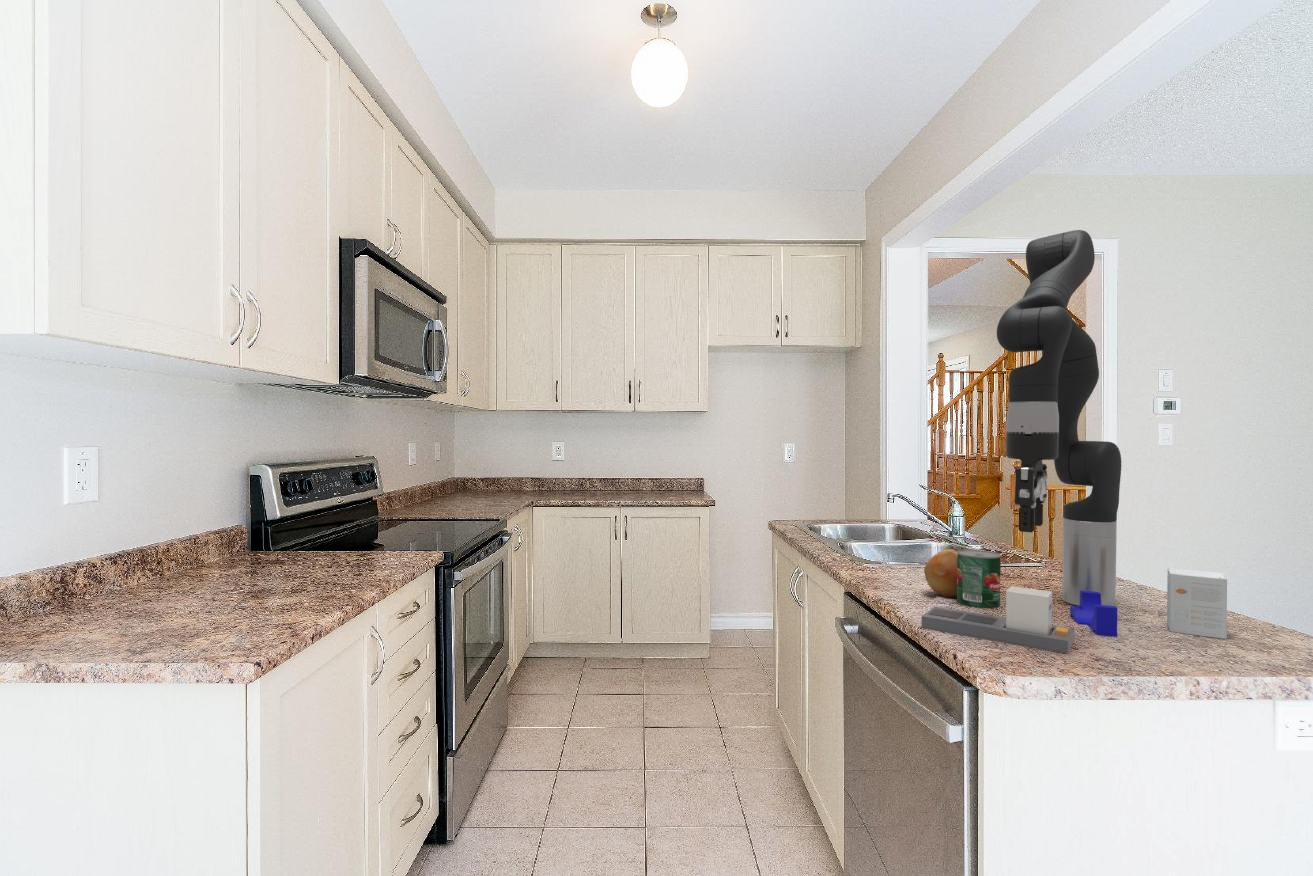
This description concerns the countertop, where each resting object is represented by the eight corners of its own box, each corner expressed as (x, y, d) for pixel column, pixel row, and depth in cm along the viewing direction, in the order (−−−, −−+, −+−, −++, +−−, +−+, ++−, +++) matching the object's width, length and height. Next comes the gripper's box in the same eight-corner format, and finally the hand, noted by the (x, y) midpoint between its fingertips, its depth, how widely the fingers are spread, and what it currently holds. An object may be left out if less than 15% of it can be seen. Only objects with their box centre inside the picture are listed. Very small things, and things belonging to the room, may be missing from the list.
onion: (922, 589, 150) (922, 544, 149) (971, 593, 147) (972, 547, 146) (925, 600, 140) (926, 552, 140) (978, 604, 137) (978, 555, 137)
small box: (1222, 631, 119) (1223, 572, 119) (1227, 640, 115) (1228, 578, 114) (1166, 624, 124) (1167, 567, 124) (1168, 632, 119) (1169, 572, 119)
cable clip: (1070, 621, 126) (1070, 589, 126) (1098, 624, 124) (1098, 592, 124) (1085, 640, 115) (1086, 605, 115) (1117, 644, 113) (1117, 608, 113)
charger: (1011, 633, 115) (1011, 586, 115) (1052, 640, 111) (1052, 591, 111) (1005, 639, 111) (1006, 591, 111) (1048, 647, 108) (1048, 597, 107)
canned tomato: (954, 601, 139) (955, 548, 139) (996, 604, 137) (997, 550, 137) (959, 611, 132) (959, 555, 132) (1003, 615, 129) (1004, 558, 129)
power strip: (934, 622, 124) (934, 603, 124) (1074, 646, 111) (1074, 625, 111) (921, 633, 118) (921, 612, 118) (1067, 660, 104) (1068, 637, 104)
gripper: (1014, 429, 119) (1013, 521, 119) (998, 430, 107) (996, 531, 108) (1064, 430, 114) (1062, 525, 114) (1052, 430, 103) (1050, 536, 103)
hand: (1030, 528), depth 111 cm, fingers open, 8 cm apart
